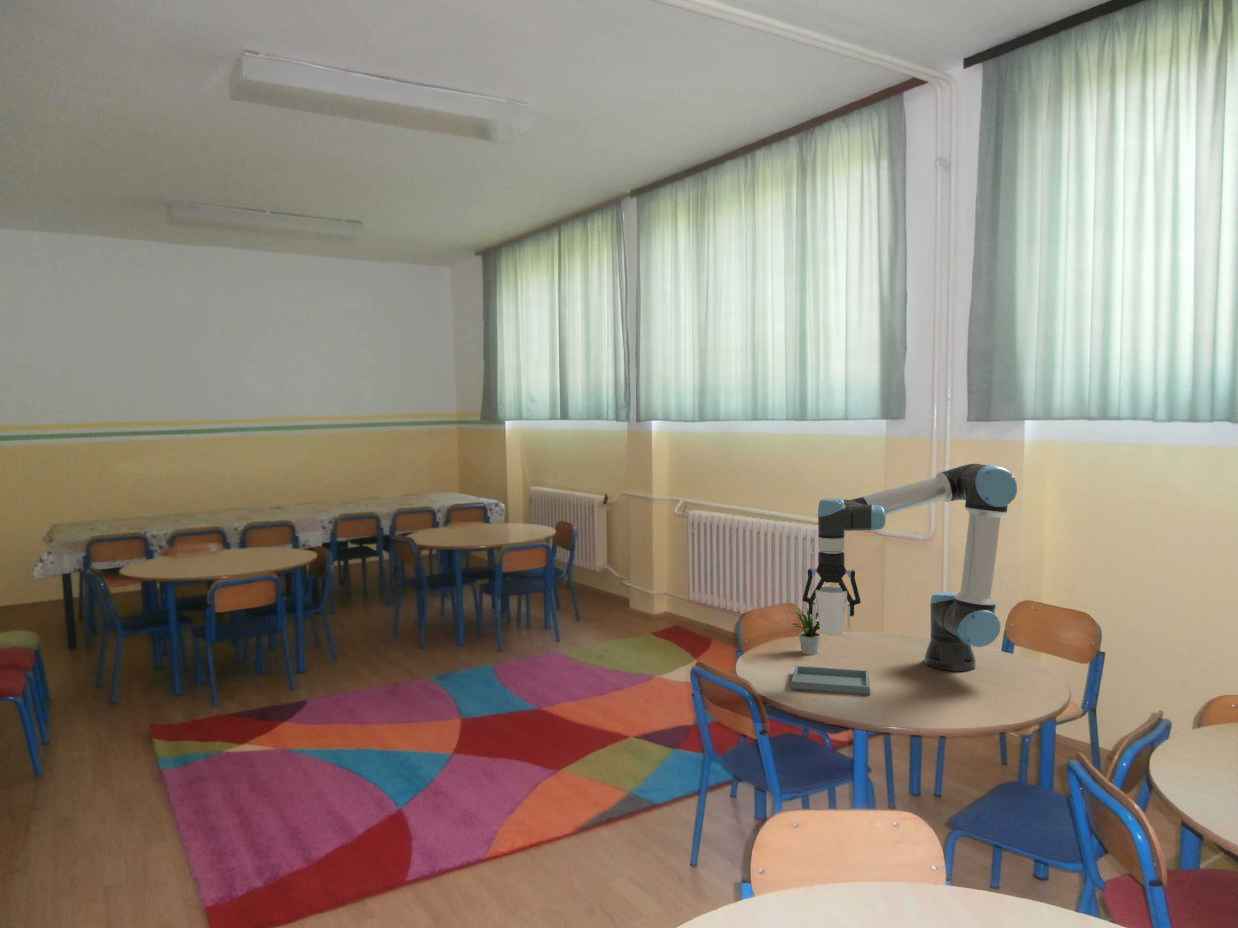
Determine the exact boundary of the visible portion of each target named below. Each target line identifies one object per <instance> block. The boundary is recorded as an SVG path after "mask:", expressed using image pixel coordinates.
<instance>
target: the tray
mask: <svg viewBox="0 0 1238 928" xmlns="http://www.w3.org/2000/svg"><path fill="white" fill-rule="evenodd" d="M870 682H871V681H870V670H869V669H855V668H841V667H837V668H836V667H825V666H824V667H822V666H809V665H794V671H793V675H792V679H791V691H801V692H814V693H815V692H817V693H828V694H829V693H831V694H842V695H843V694H844V695H857V696H871V686H870V685H871V683H870Z"/></svg>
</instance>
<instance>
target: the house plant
mask: <svg viewBox="0 0 1238 928" xmlns="http://www.w3.org/2000/svg"><path fill="white" fill-rule="evenodd" d="M784 610H786V609H784ZM799 610H800V611H801V612H800V611H799ZM799 610H798V609H796V610H794V611H793V613H794V614H795V615H796V617H797V618H798V619H799V620H800V622H801V624H802V626H801V625H800V624H798V623H795V622H794V623H792V624H791V626H792V627H793V628H800V629H801V630H802V632H799V634H798V636H799V642H800V648H801V653H802V654H803V655H808V656H813V655H814V656H815V655H817V654H819V646H820V639H821V633H818V630H820V626H819V620H818V611H817V609H816V620H817V621H816V625H815V626H813V614H809V608H806V615H807V616H806V615H805V614H804V612H803V610H802V609H801V608H799ZM789 611H791V612H792V610H790V609H789Z"/></svg>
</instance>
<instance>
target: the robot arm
mask: <svg viewBox="0 0 1238 928" xmlns="http://www.w3.org/2000/svg"><path fill="white" fill-rule="evenodd" d="M1017 493H1018V484H1017V480H1016V478H1015V476H1014V475H1013V473H1011V472H1010V470H1008V469H1006V468H1004V467H1001V466H998V465H995V464H993V465H991V464H982V463H968V464H964V465H961V466H958V467H957V466H956V467H955V468H954V467H953V468H952V469H948V470H944V471H941V472H937V473H936V475H935V476H934V477H931V478H927V479H923V480H919V481H916V482H913V483H908V484H905V485H901V486H898V487H894V488H890V489H889V488H888V489H886V490H881V491H879V492H875V493H872V494H867V495H864V496H863V495H862V496H861V497H857V498H853V499H845V498H844V499H841V498H822V499H821V500H819V502H818V507H817V508H818V509H817V521H818V524H817V525H818V529H817V531H818V532H817V533H818V534H817V535H818V536H817V540H818V541H817V546H818V548H817V549H818V550H819V551H818V553H817V554H818V556H817V558H818V559H817V561H818V562H817V563H818V564H817V566H816V567H817V568H811V567H809V568H808V569H807V581H806V584H805V589H804V592H803V597H802V601H803V602H804V603H807V604H808V610H809V614H810V615H812V614H813V616H812V618H813V627H814V626H815V625H816V624H817V623H816V622H817V619H816V612H817V611H816V610H817V603H816V602H814V601H815V600H816V590H819V591H820V589H821V587H823V586H824V584H825V583H826V584H827V583H828V584H829V583H833V584H838V585H839V587H841V589H842V591H847V602H848V603H847V604H846V607H847V608H846V609H847V610H846V612H847V613H846V614H847V615H846V617H847V618H846V619H847V620H846V621H847V623H846V625H847V626H846V627H847V629H851V617H854V616H855V606H856V605H860V604H861V598H860V592H859V589H858V586H857V581H856V578H855V577H856V570H855V569H846V567H845V552H844V551H845V532H853V531H856V532H857V531H871V532H872V531H880V530H883V528H884V527H885V526H886V520H887V519H886V518H887V517H886V516H889V515H892V514H895V513H900V512H903V511H904V512H905V511H907V510H911V509H914V508H918V507H922V506H926V505H930V504H933V503H936V502H940V501H943V502H945V503H949V502H955V501H965V503H964V504H965V505H964V508H965V510H966V511H967V512H968V514H969V515H968V516H969V517H968V524H967V525H968V526H967V531H966V533H967V535H966V540H965V541H966V543H965V551H964V556H963V557H964V560H963V566H962V567H963V568H962V574H961V575H962V577H961V585H960V591H959V592H956V591H955V592H949V591H948V592H935V593H933V594H932V595H931V597H930V603H929V606H930V640H929V643H928V645H927V648H926V652H925V653H924V664H926V665H927V666H928V667H931V668H933V669H937V670H941V671H949V672H966V671H972V670H974V669H975V668H977V667H976V664H977V663H976V661H977V660H976V657H975V653H974V651H973V648H972V647H974V648H975V647H976V648H983V647H987V646H990V644H992V643H993V642H995V640H996V639H998V637H999V635H1000V633H1001V621H1000V619H999V616H998V615H997V614H996V613H995V612H996V605H997V603H996V601H995V600H994V598H993V597H992V591H993V584H994V583H993V582H994V575H995V567H996V566H995V565H996V558H997V552H998V551H997V550H998V542H999V535H1000V524H1001V518H1002V517H1004V515H1006V514H1007V513H1008V507H1009V505H1010V504H1011V503H1012V502H1013V501H1014V500H1015V498H1016V496H1017ZM816 573H817V575H818V576H819V577H820V579H819V581H818V583H817V584H816V586H815V589H814V590H813V592H812V594H811V596H810V597H808V595H809V592H810V590H811V589H810V588H811V584H812V581H813V577H815V575H816ZM845 575H847V577H848V578H849V579H850V583H851V586H852V591H853V595H854V599H853V596H852V595H851V593H850V591H849V590H848V588H847V586H846V583H845V582H844V580H843V577H844V576H845ZM973 668H974V669H973ZM971 669H972V670H971Z"/></svg>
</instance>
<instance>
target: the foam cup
mask: <svg viewBox="0 0 1238 928" xmlns="http://www.w3.org/2000/svg"><path fill="white" fill-rule="evenodd" d="M847 602H848V600H847V591H842V589H841V587H840V586H834V585H833V586H832V585H831V586H830V585H829V586H826V585H825V586H824V585H823V586H822V587H821V589H820V591H819V590H816V598H815V603H816V610H817V611H818V617H817V619H818V621H819V627H820V629H819V631H820V633H819V634H821V635H826V636H840V635H843V629H844V622H845V616H846V609H847V608H846V607H847ZM817 611H816V612H817Z"/></svg>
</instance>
